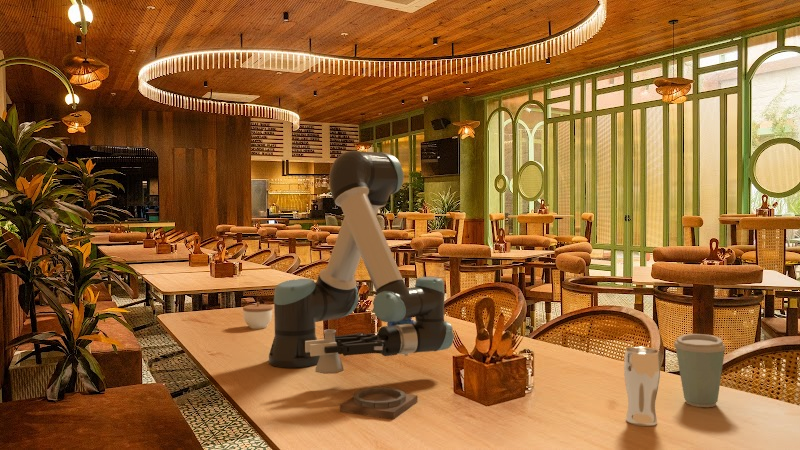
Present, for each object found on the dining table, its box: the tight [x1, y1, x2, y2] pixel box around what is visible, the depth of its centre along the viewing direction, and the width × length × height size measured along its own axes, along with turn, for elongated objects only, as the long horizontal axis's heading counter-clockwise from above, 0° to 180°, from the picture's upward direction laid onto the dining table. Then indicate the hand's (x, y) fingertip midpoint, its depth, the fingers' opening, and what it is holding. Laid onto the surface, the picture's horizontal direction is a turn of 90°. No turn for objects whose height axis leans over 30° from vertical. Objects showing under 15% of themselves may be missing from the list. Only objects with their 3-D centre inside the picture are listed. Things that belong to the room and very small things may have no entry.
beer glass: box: [623, 346, 661, 427], centre depth 135 cm, size 7×7×15 cm
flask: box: [315, 329, 345, 375], centre depth 160 cm, size 7×7×10 cm
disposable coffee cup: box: [673, 333, 727, 408], centre depth 147 cm, size 11×11×15 cm
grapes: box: [386, 317, 416, 326], centre depth 207 cm, size 12×7×12 cm, turn 56°
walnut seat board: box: [339, 386, 418, 420], centre depth 146 cm, size 13×13×3 cm
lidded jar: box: [242, 301, 274, 330], centre depth 240 cm, size 11×11×9 cm
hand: (308, 348), depth 157 cm, fingers closed on flask, 3 cm apart
